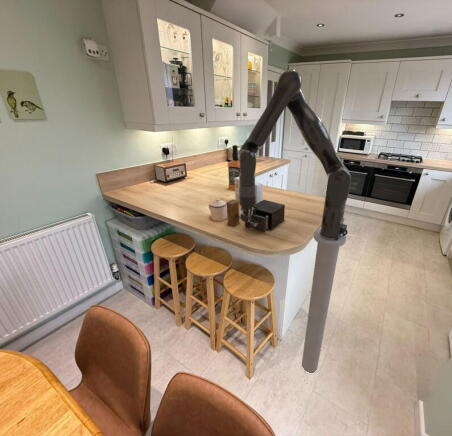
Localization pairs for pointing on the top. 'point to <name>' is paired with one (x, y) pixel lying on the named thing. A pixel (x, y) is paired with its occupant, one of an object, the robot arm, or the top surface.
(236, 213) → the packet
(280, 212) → the dark brown cabinet
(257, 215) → the drawer
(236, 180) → the skincare box
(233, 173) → the whiskey bottle
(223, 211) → the teacup with lid
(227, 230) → the top surface
